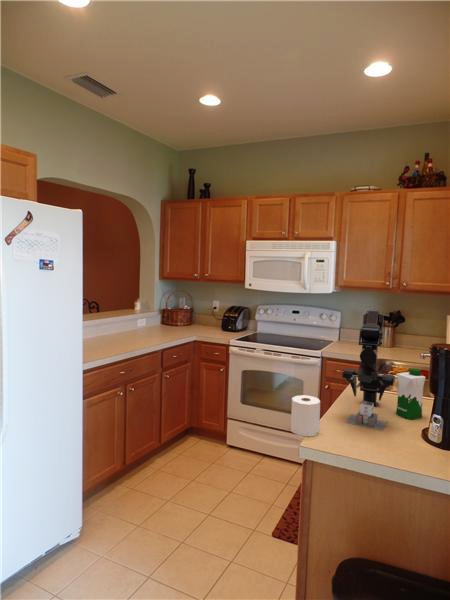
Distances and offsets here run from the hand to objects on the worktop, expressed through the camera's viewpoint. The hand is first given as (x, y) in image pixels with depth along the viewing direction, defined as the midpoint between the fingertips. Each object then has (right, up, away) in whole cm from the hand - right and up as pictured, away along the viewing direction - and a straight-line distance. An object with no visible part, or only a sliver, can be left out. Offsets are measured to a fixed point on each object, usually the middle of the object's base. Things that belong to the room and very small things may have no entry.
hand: (367, 398), depth 155 cm
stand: (0, -11, +1) cm, 11 cm away
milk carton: (+20, -10, +9) cm, 24 cm away
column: (0, -10, +1) cm, 10 cm away
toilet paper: (-25, -11, -6) cm, 28 cm away
